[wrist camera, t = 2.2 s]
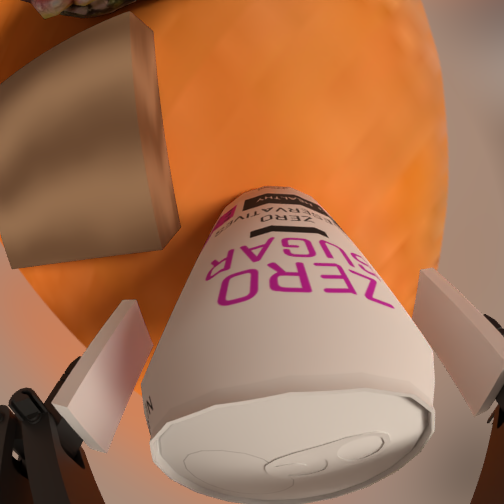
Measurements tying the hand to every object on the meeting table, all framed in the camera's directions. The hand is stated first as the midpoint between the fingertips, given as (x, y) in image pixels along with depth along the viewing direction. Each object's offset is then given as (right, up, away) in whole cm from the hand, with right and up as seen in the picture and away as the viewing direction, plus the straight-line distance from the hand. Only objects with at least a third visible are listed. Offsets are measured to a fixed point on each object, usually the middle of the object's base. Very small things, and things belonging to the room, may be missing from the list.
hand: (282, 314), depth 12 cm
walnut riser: (-14, +10, +4) cm, 18 cm away
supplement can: (0, +3, +7) cm, 8 cm away
